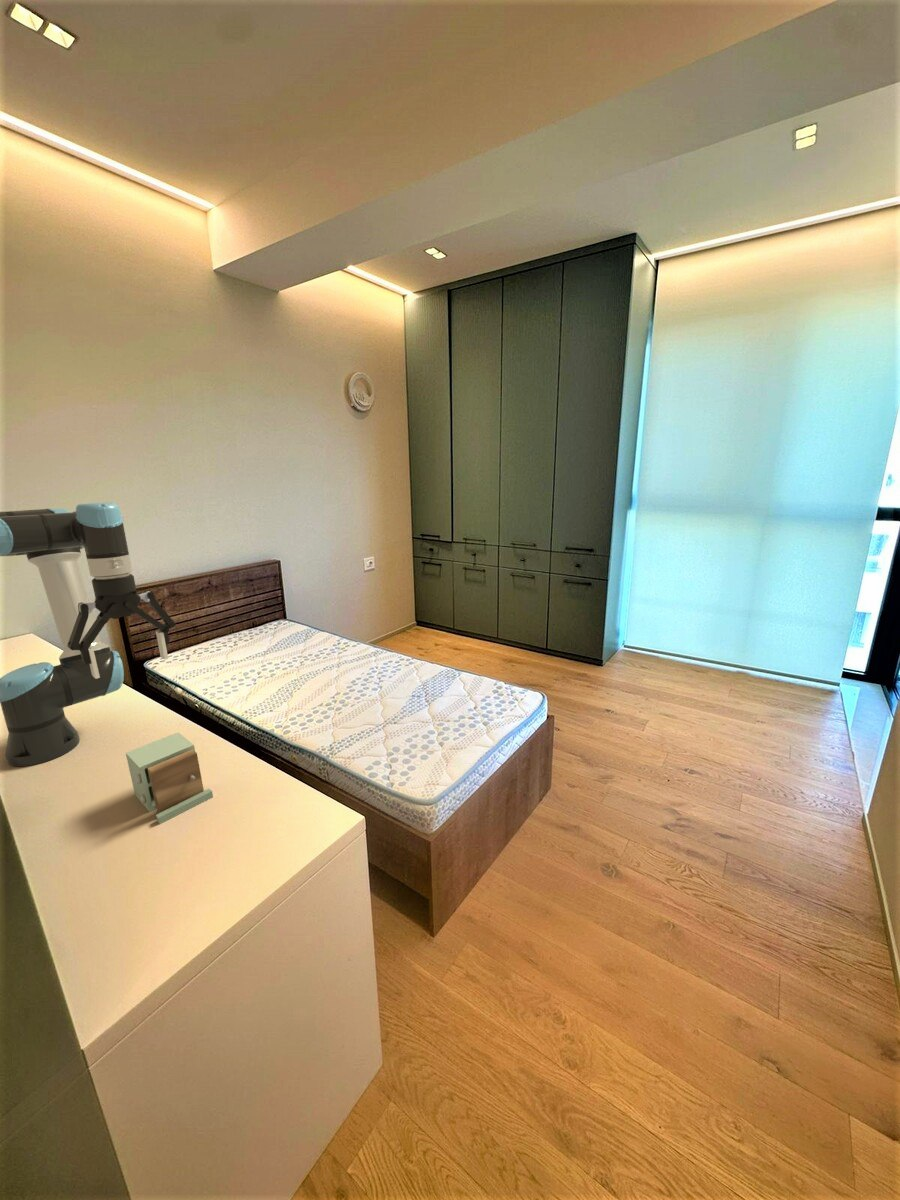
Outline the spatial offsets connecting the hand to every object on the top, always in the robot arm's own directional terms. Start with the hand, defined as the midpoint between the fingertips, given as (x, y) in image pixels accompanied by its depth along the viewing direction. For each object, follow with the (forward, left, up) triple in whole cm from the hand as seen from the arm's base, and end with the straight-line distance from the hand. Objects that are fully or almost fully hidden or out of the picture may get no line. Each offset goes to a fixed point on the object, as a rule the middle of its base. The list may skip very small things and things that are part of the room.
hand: (131, 667), depth 107 cm
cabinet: (+11, 0, -29) cm, 31 cm away
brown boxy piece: (+16, 0, -29) cm, 33 cm away
